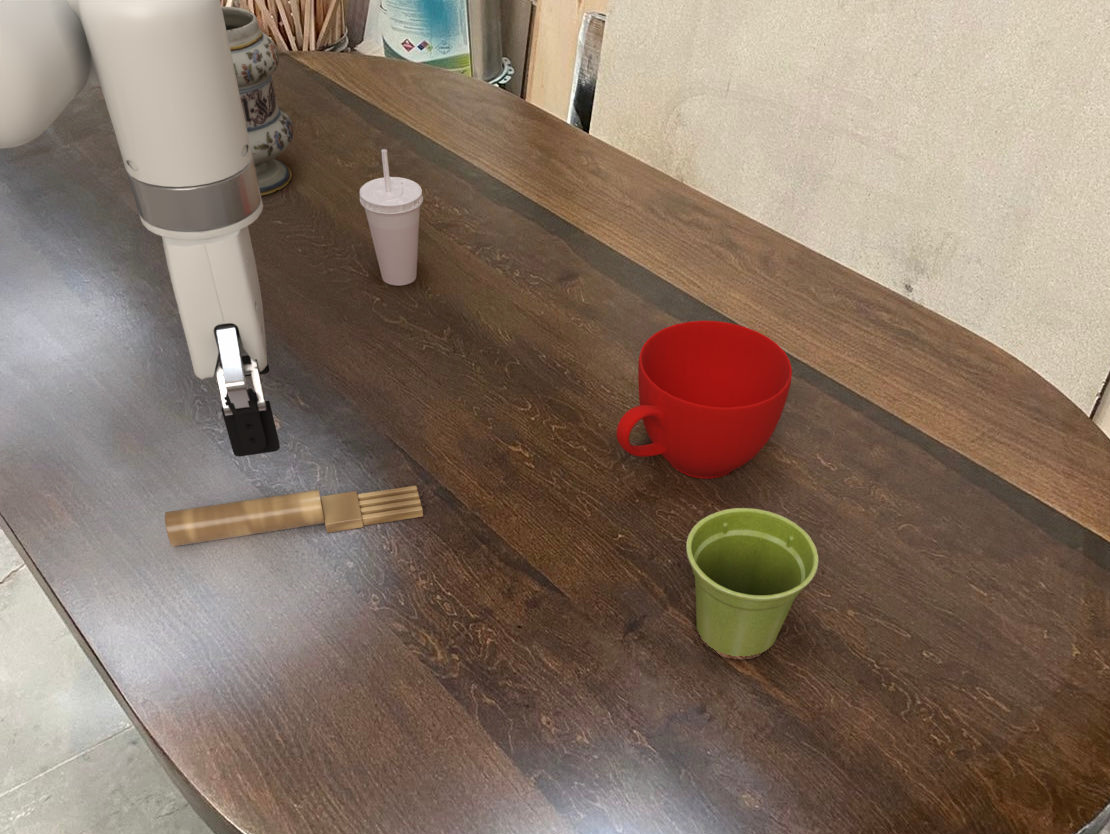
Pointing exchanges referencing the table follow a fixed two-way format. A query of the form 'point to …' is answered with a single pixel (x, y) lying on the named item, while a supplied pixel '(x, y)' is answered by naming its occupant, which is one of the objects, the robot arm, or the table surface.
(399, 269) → the smoothie
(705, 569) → the plant pot
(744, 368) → the ceramic cup
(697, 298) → the table surface
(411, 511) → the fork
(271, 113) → the apothecary jar
